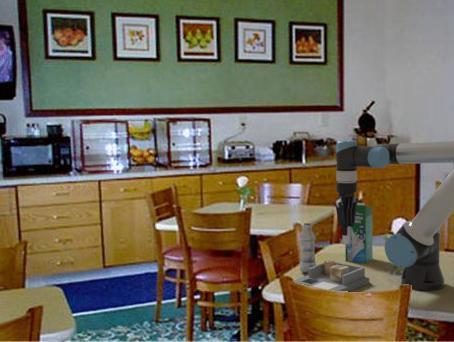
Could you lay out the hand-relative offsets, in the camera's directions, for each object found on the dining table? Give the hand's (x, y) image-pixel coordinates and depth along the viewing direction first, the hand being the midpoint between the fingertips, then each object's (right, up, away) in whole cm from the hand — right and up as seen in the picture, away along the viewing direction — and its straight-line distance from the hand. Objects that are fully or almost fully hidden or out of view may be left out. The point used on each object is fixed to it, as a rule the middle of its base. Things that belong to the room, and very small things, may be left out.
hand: (346, 243), depth 220 cm
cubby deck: (-6, -15, -1) cm, 17 cm away
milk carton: (+12, -11, +33) cm, 37 cm away
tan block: (-5, -13, +5) cm, 15 cm away
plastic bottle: (-13, -14, +15) cm, 24 cm away
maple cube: (-3, -13, -3) cm, 14 cm away
